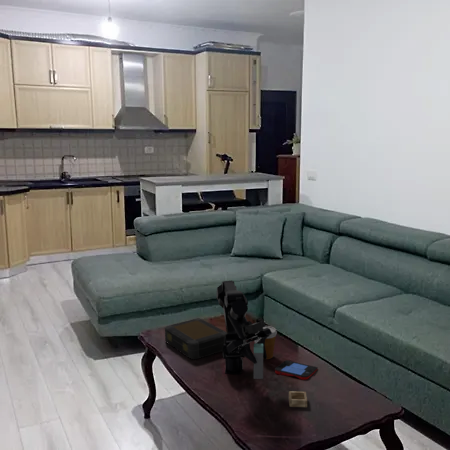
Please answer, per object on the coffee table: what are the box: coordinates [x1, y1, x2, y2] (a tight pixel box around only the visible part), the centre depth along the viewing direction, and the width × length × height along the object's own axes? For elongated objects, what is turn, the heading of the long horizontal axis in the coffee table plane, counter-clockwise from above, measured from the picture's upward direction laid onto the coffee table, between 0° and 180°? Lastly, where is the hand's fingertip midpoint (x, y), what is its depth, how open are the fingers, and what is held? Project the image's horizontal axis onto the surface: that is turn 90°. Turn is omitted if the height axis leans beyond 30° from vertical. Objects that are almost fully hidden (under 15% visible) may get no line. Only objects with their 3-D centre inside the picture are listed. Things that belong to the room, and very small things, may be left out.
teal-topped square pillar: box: [253, 343, 264, 380], centre depth 181 cm, size 3×3×12 cm
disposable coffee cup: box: [255, 325, 278, 360], centre depth 212 cm, size 10×10×12 cm
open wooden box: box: [288, 390, 308, 408], centre depth 175 cm, size 6×6×3 cm
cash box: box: [164, 317, 227, 360], centre depth 225 cm, size 25×20×8 cm
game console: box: [274, 359, 319, 381], centre depth 199 cm, size 14×13×2 cm
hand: (261, 361), depth 180 cm, fingers closed on teal-topped square pillar, 5 cm apart
